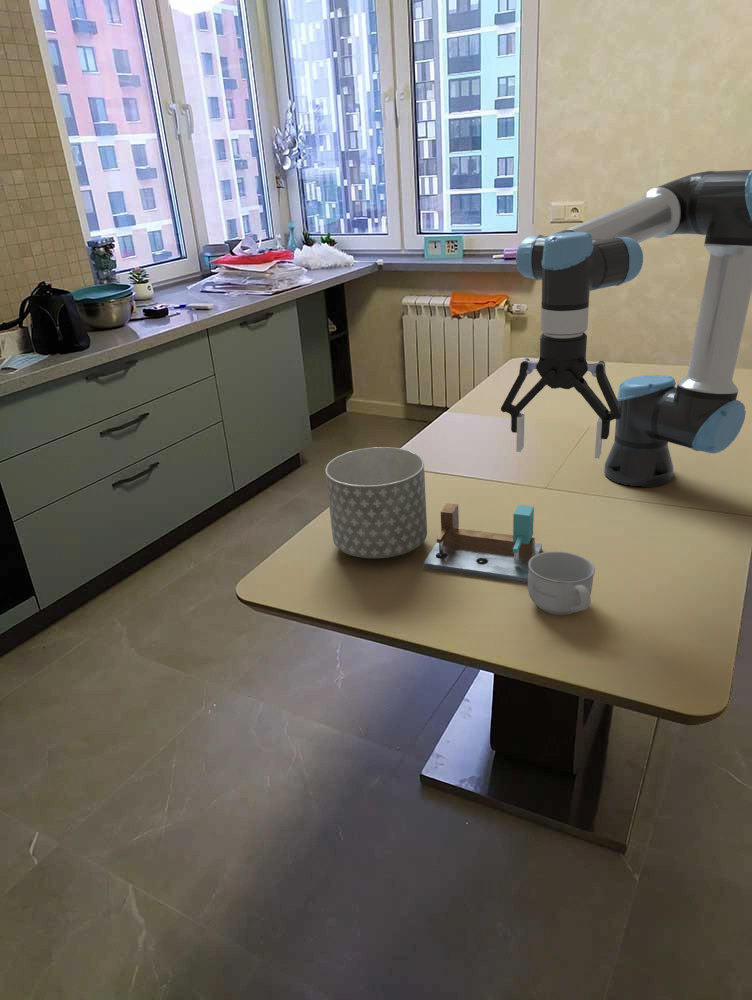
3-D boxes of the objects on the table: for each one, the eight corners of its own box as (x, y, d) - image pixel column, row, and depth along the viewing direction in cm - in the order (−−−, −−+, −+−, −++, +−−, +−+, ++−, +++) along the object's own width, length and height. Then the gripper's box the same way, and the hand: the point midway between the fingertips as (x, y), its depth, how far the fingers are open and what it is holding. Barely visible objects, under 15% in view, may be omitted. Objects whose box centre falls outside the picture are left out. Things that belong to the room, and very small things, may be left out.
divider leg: (532, 543, 140) (533, 506, 136) (522, 568, 132) (523, 529, 128) (517, 541, 141) (518, 504, 137) (506, 565, 133) (507, 527, 129)
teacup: (520, 591, 128) (520, 552, 125) (579, 584, 129) (582, 545, 125) (542, 637, 116) (544, 595, 112) (608, 630, 116) (612, 588, 113)
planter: (338, 527, 155) (329, 449, 147) (426, 523, 154) (422, 444, 146) (330, 574, 138) (320, 488, 130) (429, 569, 137) (425, 483, 129)
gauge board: (541, 549, 141) (543, 509, 137) (528, 583, 130) (529, 542, 127) (443, 536, 148) (442, 499, 145) (423, 568, 138) (421, 528, 134)
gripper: (645, 329, 117) (634, 450, 126) (494, 326, 127) (494, 439, 136) (641, 340, 111) (630, 466, 120) (483, 336, 120) (484, 454, 129)
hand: (558, 452), depth 128 cm, fingers open, 13 cm apart
